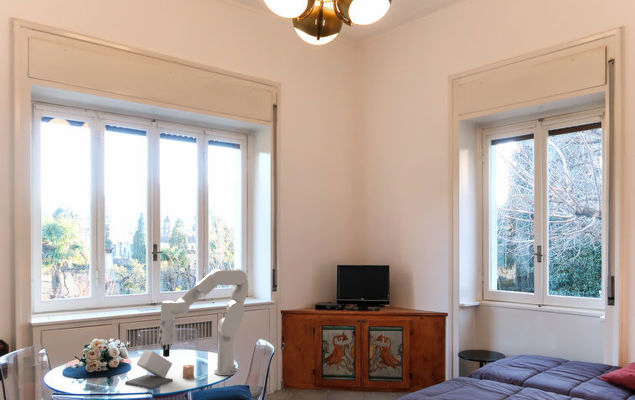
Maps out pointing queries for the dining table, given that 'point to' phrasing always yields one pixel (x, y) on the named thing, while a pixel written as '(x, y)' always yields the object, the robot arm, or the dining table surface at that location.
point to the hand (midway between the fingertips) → (166, 356)
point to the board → (149, 381)
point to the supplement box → (154, 363)
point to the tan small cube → (188, 371)
